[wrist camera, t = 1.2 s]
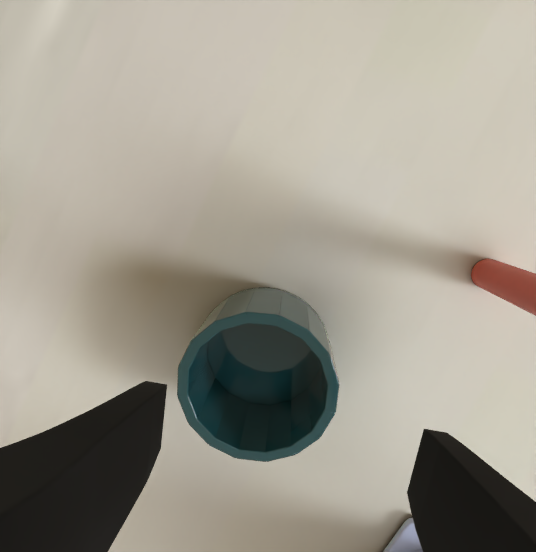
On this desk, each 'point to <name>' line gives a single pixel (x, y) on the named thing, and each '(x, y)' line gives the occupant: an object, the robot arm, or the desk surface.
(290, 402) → the cup
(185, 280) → the desk surface
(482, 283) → the red cylinder rod
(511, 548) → the robot arm
